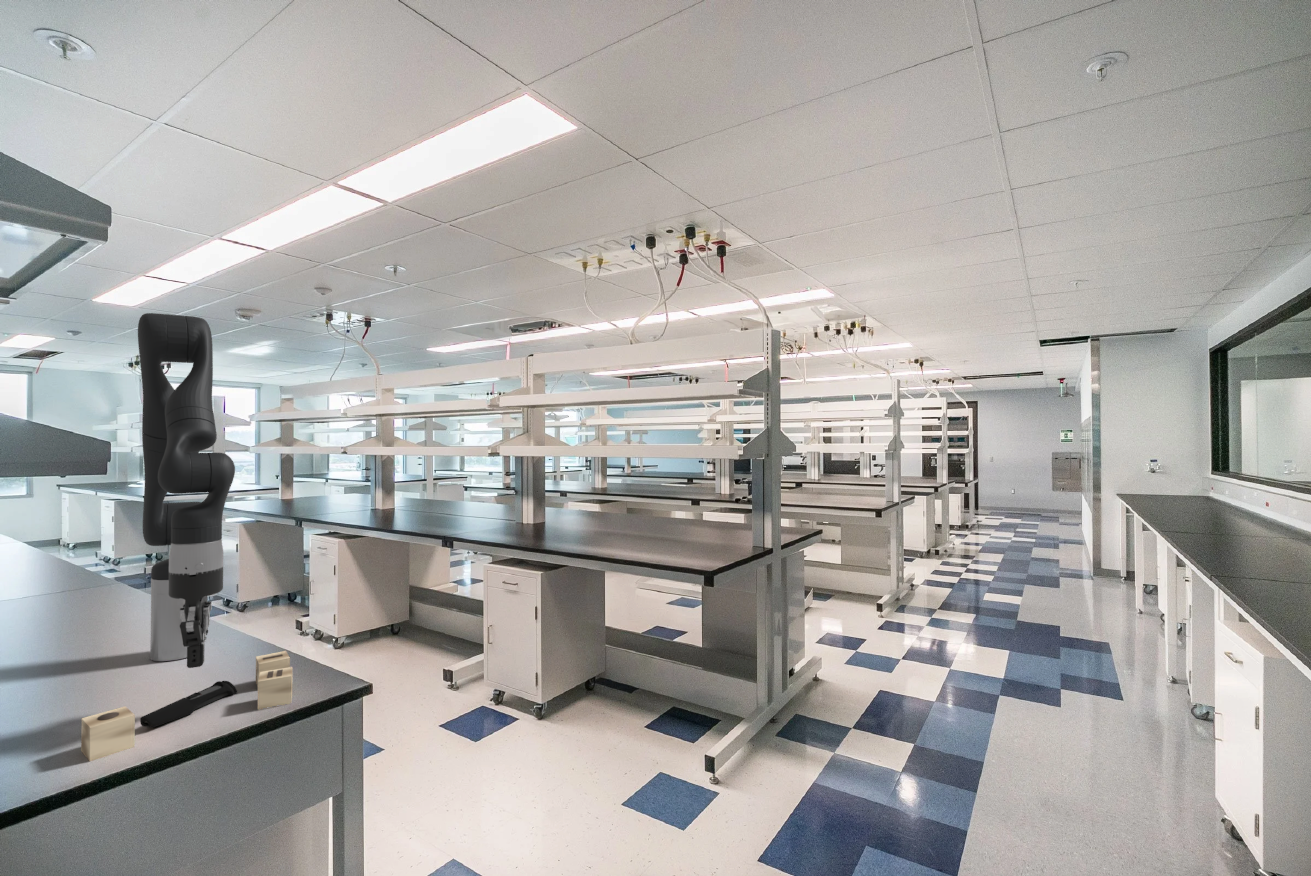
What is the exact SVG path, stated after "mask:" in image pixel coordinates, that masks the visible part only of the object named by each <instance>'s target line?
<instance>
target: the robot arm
mask: <svg viewBox="0 0 1311 876" xmlns="http://www.w3.org/2000/svg"><path fill="white" fill-rule="evenodd" d="M137 344H138V356H139V366H140V375H141V383H142V384H141V386H142V422H141V423H142V424H141V432H142V433H141V435H142V437H141V440H142V452H143V453H142V455H143V465H144V466H143V467H144V468H143V470H144V489H143V490H144V491H143V494H144V495H143V509H142V535H143V539H144V543H146V544H147V545H148V546H151V547H165V546H170V547H169V549H170V550H169V554H168V558H167V559H164V560H161V561H159V562H156V563H155V564H153V565H152V566H151V569H150V570H151V571H150V578H151V579H150V645H149V646H150V651H149V654H150V655H149V656H150V657H149V658H150V660H151V661H154V662H166V661H176V660H182V659H186V667H187V668H188V669H194V668H200V667H202V666H203V665H204V663H205V642H206V640H207V635H208V633H209V630H208V629H209V627H210V625H211V624H210V622H211V617H210V616H211V615H210V614H211V611H212V609H213V603H212V601H208V596H213V595H216V594H219V593H220V592H222V591H223V589H224V546H223V542H222V541H223V539H222V538H223V516H224V515H223V514H224V509H225V505H226V501H227V498H228V494H229V492H230V489H231V487H232V485H233V481H234V478H235V475H236V474H235V473H236V465H235V462H234V461H233V458H232V457H230V456H229V455H228V454H226V453H224V452H200V451H205V450H208V449H209V448H211V447H212V446H214V445H215V444H216V442H217V439H218V438H217V437H218V436H217V435H218V433H217V428H216V422H215V416H214V408H213V383H214V382H213V376H214V373H213V372H214V370H213V369H214V365H213V363H214V358H213V357H214V355H213V354H214V353H213V352H214V351H213V350H214V349H213V337H212V331H211V327H210V324H209V323H208V322H207V320H206V319H204V318H202V317H200V316H199V317H198V316H192V315H191V316H190V315H182V314H181V315H180V314H168V313H157V312H156V313H155V312H154V313H153V312H151V313H149V312H147V313H143V314H142V315H141V316H140V317H139V320H138V324H137ZM162 363H183V364H184V363H185V364H186V363H187V364H192V367H191V370H190V372H188V374H187V376H186V377H185V378H184V379H183V381H181V382H180V383H179V385H178V386H177V387H176V388H175V389H174V387H173V386H172V384H171V383H170V381H169V380H168V378H167V376H166V375H165V372H164V369H163V368H162ZM203 493H208V494H207V497H206V498H205V499H204V500H203V501H181V502H179V501H178V502H168V503H167V502H164V500H165V498H166V496H167V494H173V495H180V494H181V495H182V494H183V495H184V494H203Z"/></svg>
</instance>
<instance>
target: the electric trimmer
mask: <svg viewBox="0 0 1311 876" xmlns="http://www.w3.org/2000/svg"><path fill="white" fill-rule="evenodd" d="M236 693H238V690H237V688H236V687H235V685H234V683H232V682H230V681H229V680H221V681H220V680H219V681H218V680H217V681H216V682H215V683H213V685H211V686H209V687H207V688H204V689H203V690H199V691H197V692H194V693H192V694H190V695H188V696H186V697H182V698H179V699H178V700H176V701H174V702H172V703H171V702H170V703H169V704H166V705H165V706H163V707H161V708H158V709H156V710H154V711H152V712H149V713H147V714H145V715H143V716H141V717H140V719H139V720H140V721H139V722H140V725H141V726H142V727H144V728H145V727H147V728H155V727H158V726H161V725H164V724H166V723H169V722H172V721H175V720H178V719H181V718H183V717H187V716H189V715H192V714H193V713H194V711H195V710H199V709H200V708H202V707H205V706H206V705H208V704H211V703H214V702H215V701H218V700H220V699H222V698H225V697H227V696H231V697H233V696H235V694H236Z"/></svg>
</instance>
